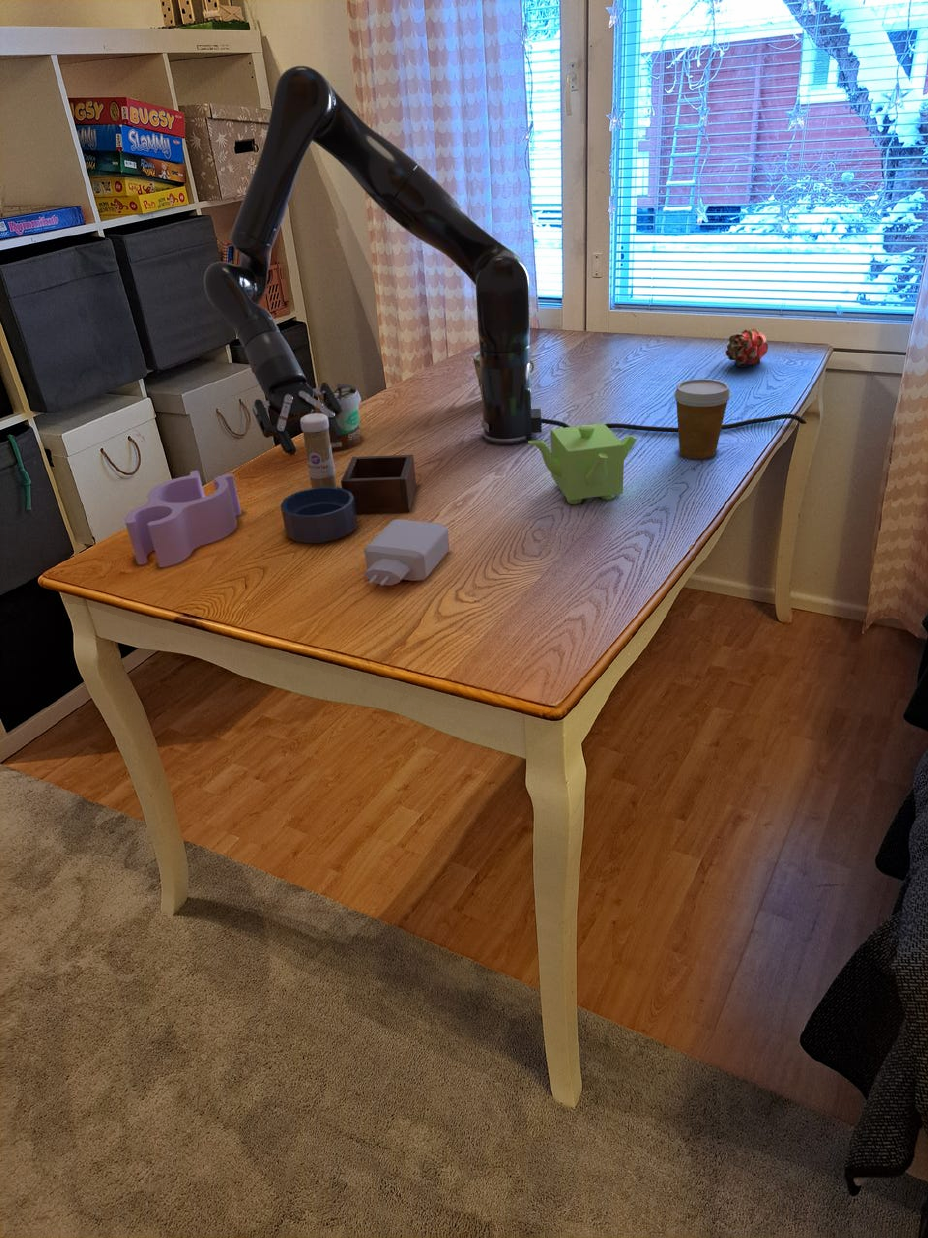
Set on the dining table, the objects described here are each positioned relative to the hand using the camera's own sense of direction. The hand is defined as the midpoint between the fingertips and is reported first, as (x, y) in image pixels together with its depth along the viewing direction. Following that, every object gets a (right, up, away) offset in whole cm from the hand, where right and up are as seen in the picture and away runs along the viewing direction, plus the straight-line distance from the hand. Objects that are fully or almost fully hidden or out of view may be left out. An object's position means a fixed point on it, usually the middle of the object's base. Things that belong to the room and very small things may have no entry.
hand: (316, 446), depth 149 cm
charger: (+16, -23, -23) cm, 36 cm away
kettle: (+45, -9, -4) cm, 45 cm away
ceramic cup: (+34, +17, +39) cm, 55 cm away
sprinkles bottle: (+1, -7, +4) cm, 8 cm away
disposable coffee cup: (+67, 0, +8) cm, 67 cm away
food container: (+3, +5, +24) cm, 25 cm away
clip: (-19, -16, -8) cm, 26 cm away
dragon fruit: (+89, +29, +51) cm, 107 cm away
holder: (+11, -9, -1) cm, 14 cm away
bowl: (+2, -15, -9) cm, 18 cm away
